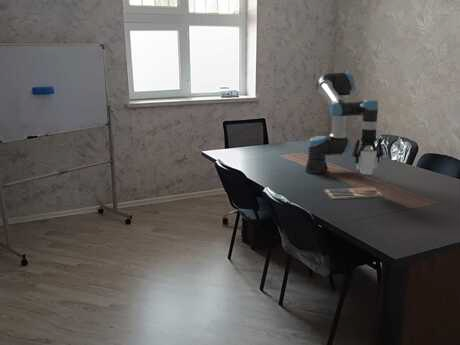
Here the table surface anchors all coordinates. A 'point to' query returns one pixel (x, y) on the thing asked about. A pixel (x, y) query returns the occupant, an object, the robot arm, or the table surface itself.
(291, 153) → the table surface
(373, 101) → the robot arm
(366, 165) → the foam cup
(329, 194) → the sorting board
